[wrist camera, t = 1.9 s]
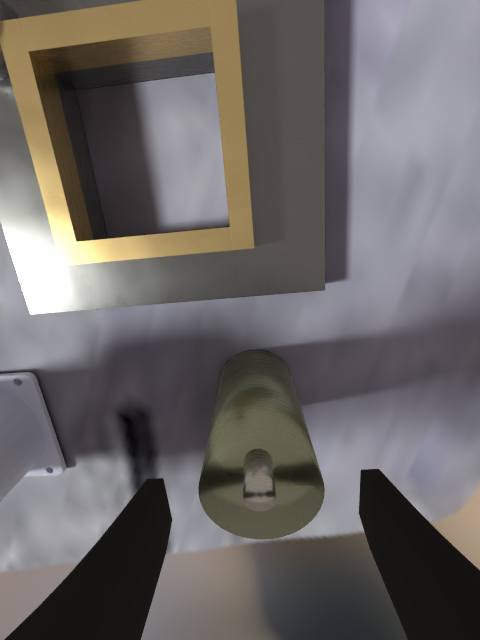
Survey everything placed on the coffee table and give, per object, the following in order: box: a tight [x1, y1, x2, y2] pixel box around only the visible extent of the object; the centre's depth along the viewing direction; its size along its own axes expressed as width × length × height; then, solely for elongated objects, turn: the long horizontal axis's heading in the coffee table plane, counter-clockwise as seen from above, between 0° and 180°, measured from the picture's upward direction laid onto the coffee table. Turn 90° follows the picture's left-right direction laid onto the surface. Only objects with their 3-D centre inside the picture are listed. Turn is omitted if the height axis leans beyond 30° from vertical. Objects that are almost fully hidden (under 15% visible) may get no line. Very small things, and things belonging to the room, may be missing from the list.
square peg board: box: [0, 0, 325, 314], centre depth 13 cm, size 16×14×4 cm
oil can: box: [199, 350, 324, 539], centre depth 13 cm, size 5×5×10 cm
